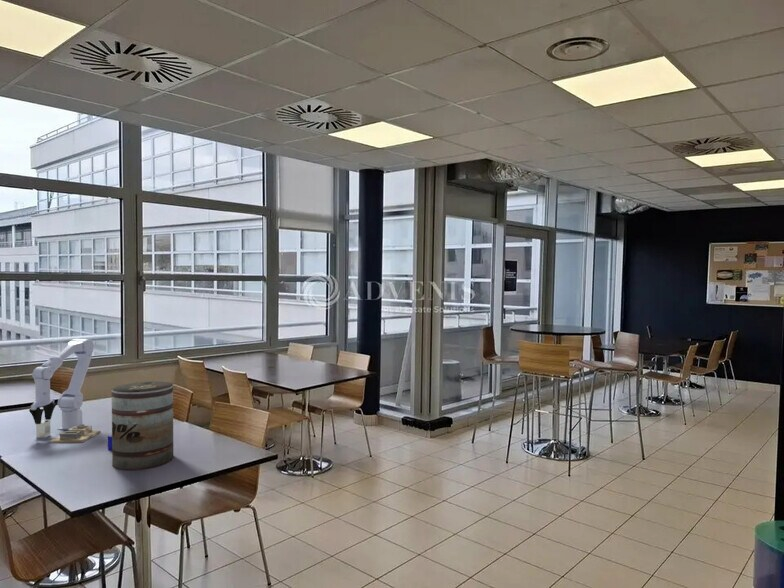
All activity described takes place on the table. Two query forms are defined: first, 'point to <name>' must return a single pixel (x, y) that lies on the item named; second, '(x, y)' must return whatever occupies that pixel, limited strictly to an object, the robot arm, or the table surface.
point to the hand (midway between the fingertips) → (43, 421)
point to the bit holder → (76, 435)
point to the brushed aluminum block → (43, 429)
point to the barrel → (142, 425)
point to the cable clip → (110, 442)
